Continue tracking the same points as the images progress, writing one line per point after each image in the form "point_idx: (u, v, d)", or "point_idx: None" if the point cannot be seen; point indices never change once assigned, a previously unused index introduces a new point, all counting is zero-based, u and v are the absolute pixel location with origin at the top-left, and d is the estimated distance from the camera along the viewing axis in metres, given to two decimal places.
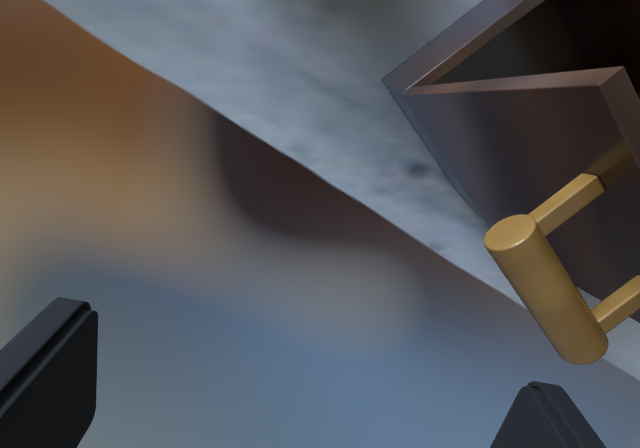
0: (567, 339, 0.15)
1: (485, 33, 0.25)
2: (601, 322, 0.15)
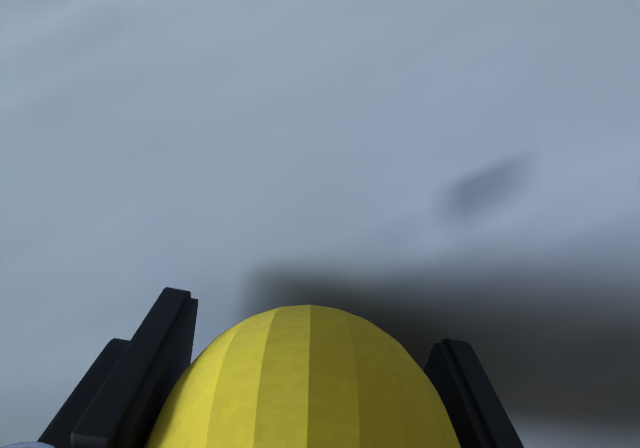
0: None
1: None
2: None
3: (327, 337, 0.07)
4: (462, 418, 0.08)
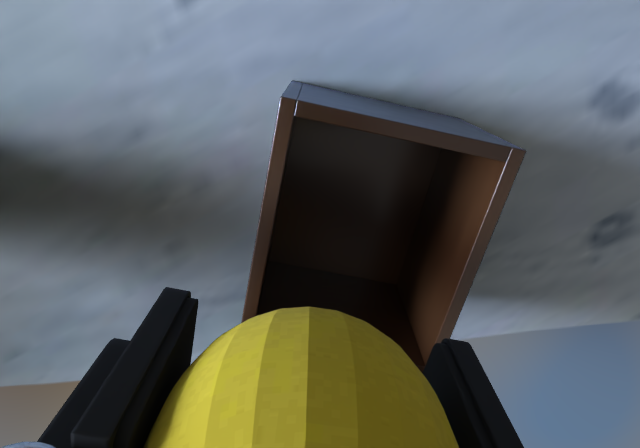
0: None
1: (254, 267, 0.23)
2: None
3: (326, 339, 0.07)
4: (462, 418, 0.08)
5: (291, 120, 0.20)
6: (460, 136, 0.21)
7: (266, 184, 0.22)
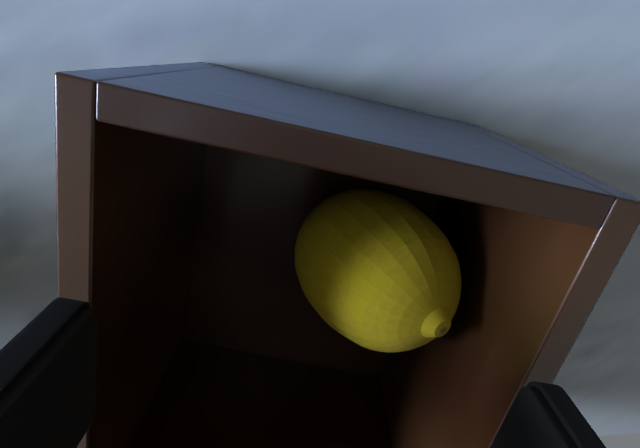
0: None
1: None
2: None
3: (379, 193, 0.15)
4: None
5: (90, 131, 0.08)
6: (496, 171, 0.09)
7: (59, 272, 0.10)
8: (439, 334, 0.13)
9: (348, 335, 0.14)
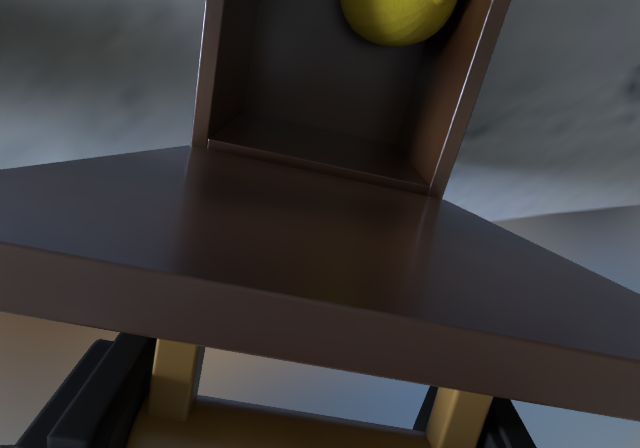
0: None
1: (207, 25, 0.18)
2: None
3: None
4: None
5: None
6: None
7: None
8: None
9: (382, 16, 0.21)
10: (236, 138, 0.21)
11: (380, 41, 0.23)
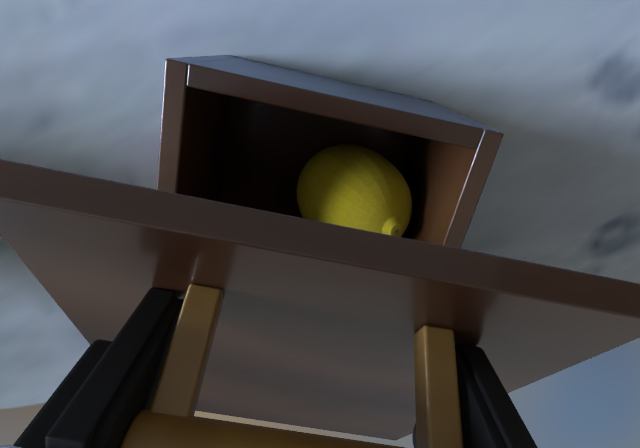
0: None
1: None
2: (434, 447, 0.08)
3: (355, 146, 0.22)
4: (477, 425, 0.08)
5: (183, 92, 0.15)
6: (414, 114, 0.15)
7: (158, 179, 0.16)
8: (394, 234, 0.20)
9: None
10: None
11: None
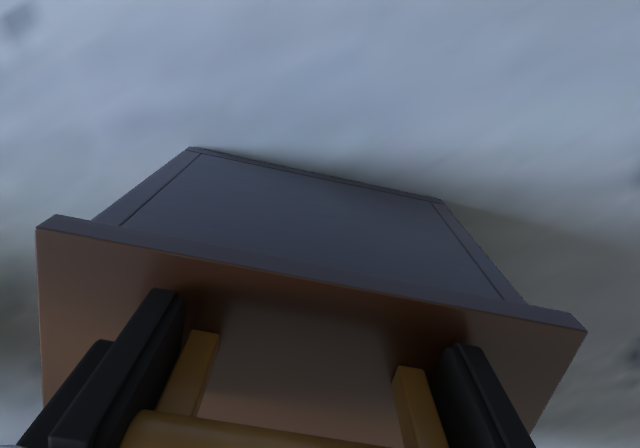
0: None
1: None
2: None
3: None
4: (476, 424, 0.08)
5: None
6: None
7: None
8: None
9: None
10: None
11: None
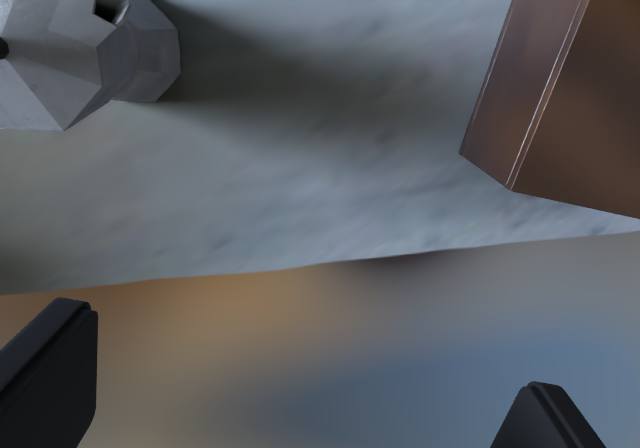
0: None
1: None
2: None
3: None
4: None
5: None
6: None
7: (570, 28, 0.26)
8: None
9: None
10: None
11: None
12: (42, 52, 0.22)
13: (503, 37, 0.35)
